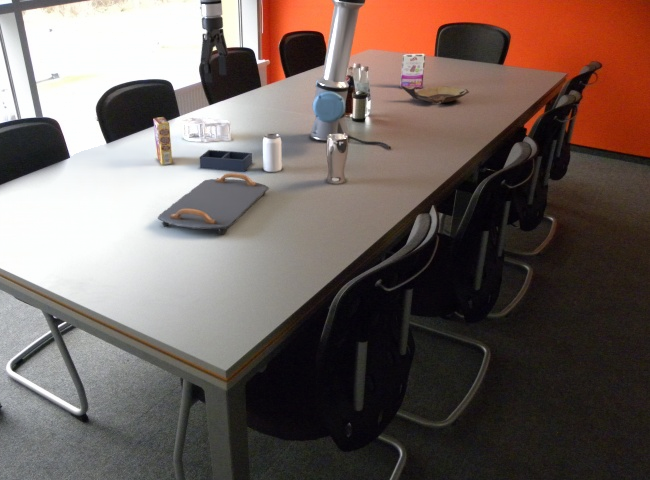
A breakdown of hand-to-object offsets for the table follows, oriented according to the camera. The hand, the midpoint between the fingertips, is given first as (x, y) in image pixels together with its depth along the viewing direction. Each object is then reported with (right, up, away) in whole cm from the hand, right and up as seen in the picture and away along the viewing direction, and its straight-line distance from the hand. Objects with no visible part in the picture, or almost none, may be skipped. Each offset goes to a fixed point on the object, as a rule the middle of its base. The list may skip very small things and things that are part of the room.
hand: (216, 78), depth 229 cm
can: (+21, -37, -13) cm, 45 cm away
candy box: (-19, -31, -1) cm, 37 cm away
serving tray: (+3, -56, -43) cm, 70 cm away
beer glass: (+42, -43, -25) cm, 65 cm away
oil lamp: (+101, +12, +64) cm, 120 cm away
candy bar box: (+97, +28, +91) cm, 135 cm away
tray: (+4, -35, -8) cm, 36 cm away
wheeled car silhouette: (-4, -17, +23) cm, 29 cm away
